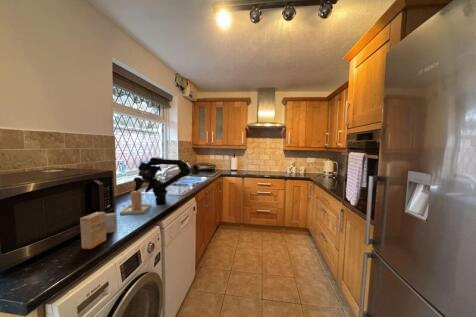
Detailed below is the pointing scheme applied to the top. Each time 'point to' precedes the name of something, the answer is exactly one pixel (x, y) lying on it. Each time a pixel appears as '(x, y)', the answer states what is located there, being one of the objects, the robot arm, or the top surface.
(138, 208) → the reddish-brown tall piece
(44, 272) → the top surface
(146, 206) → the tray
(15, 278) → the top surface
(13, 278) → the top surface
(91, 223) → the supplement box
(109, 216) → the medicine box
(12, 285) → the top surface
